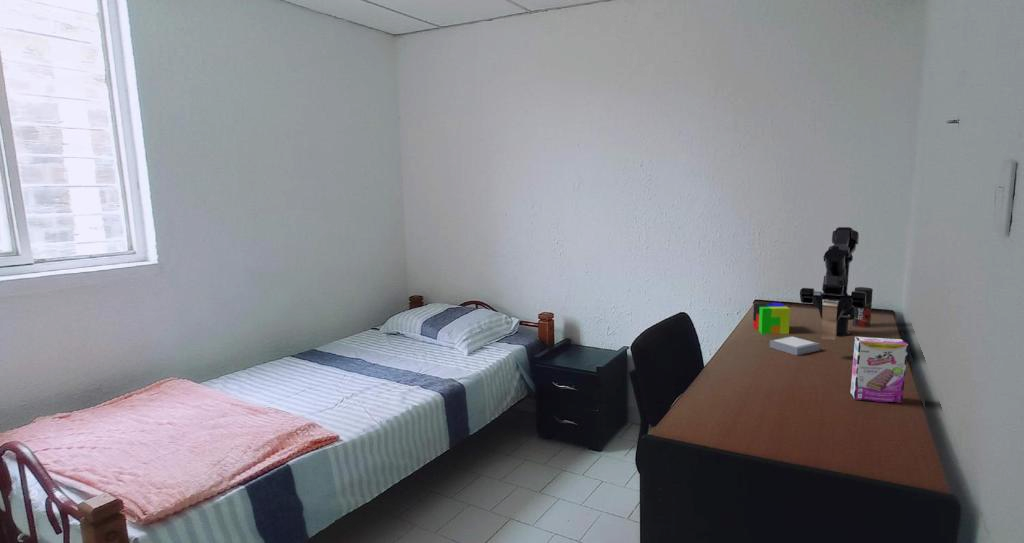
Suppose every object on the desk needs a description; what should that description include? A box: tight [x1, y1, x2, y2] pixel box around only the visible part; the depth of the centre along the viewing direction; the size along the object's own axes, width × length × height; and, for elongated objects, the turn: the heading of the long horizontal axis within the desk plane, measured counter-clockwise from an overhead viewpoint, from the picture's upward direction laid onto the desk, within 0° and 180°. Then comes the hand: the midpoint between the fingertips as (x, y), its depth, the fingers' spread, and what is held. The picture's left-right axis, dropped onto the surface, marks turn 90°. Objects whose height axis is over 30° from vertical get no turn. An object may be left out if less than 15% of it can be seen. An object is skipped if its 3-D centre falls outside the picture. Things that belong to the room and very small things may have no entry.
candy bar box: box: [850, 336, 909, 403], centre depth 145 cm, size 11×5×16 cm, turn 71°
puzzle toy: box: [752, 302, 791, 335], centre depth 215 cm, size 10×10×10 cm
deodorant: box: [852, 286, 873, 329], centre depth 217 cm, size 6×6×15 cm
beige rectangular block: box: [820, 300, 839, 341], centre depth 179 cm, size 4×4×12 cm
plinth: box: [769, 335, 821, 356], centre depth 191 cm, size 11×11×3 cm
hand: (829, 319), depth 178 cm, fingers closed on beige rectangular block, 4 cm apart
